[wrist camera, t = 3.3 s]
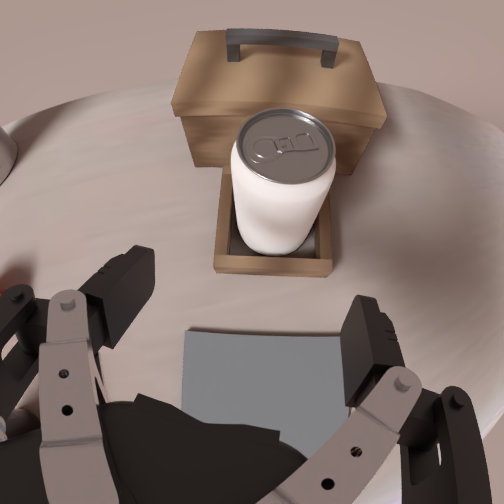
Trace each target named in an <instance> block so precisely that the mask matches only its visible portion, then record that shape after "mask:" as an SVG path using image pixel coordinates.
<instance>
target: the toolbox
mask: <svg viewBox="0 0 504 504" xmlns="http://www.w3.org/2000/svg"><path fill="white" fill-rule="evenodd" d="M171 105H172V108H173V111H174V115H175V117H178V116H180V118H181V121H182V125H183V128H184V131H185V135H186V138H187V142H188V145H189V148H190V152H191V155H192V158H193V162H194V165H195V167H223V172H222V181H221V190H220V199H219V209H218V219H217V229H216V240H215V251H214V263H213V267H214V269H215V271H216V273H226V274H247V275H269V276H295V277H325V278H326V277H327V276H328V275H330V274H331V273H332V272H333V265H332V238H331V218H330V203H329V191H328V193H327V195H326V197H325V200H324V202H323V204H322V206H321V208H320V210H319V212H318V214H317V217H316V219H315V221H314V231H315V259H304V258H281V257H258V256H235V255H229V251H230V237H231V224H232V212H233V199H234V192H233V183H232V173H231V152H232V148H233V145H234V143H235V141H236V138H237V134H238V131H239V129H240V127H241V126H242V124H243V123H244V122H245V121H246V120H247V119H248V118H249V117H251V116H252V115H254V114H255V113H257V112H260V111H262V110H265V109H270V108H278V107H285V108H293V109H298V110H301V111H304V112H306V113H309V114H311V115H312V116H314V117H316V118H317V119H319V120H320V121H321V122H322V123H323V124H324V125H325V126H326V127H327V128H328V130H329V131H330V133H331V134H332V136H333V139H334V142H335V147H336V153H335V160H336V171H335V174H345V175H352V173H353V171H354V169H355V167H356V165H357V163H358V161H359V159H360V157H361V156H362V154H363V152H364V150H365V148H366V146H367V144H368V142H369V140H370V138H371V136H372V134H373V132H374V130H375V128H378V129H381V127H382V126H383V124H384V122H385V120H386V118H387V115H386V111H385V108H384V105H383V102H382V99H381V96H380V93H379V90H378V87H377V85H376V82H375V79H374V76H373V74H372V71H371V69H370V66H369V64H368V61H367V59H366V56H365V54H364V52H363V49H362V47H361V44H360V42H358V41H352V40H347V39H342V38H337V36H331V35H325V34H317V33H309V32H300V31H289V30H274V29H273V30H272V29H227V30H216V31H198V32H197V33H196V35H195V38H194V40H193V42H192V46H191V48H190V50H189V53H188V55H187V58H186V61H185V64H184V66H183V69H182V72H181V75H180V77H179V80H178V83H177V86H176V89H175V92H174V95H173V98H172V101H171Z"/></svg>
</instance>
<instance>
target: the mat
mask: <svg viewBox="0 0 504 504" xmlns="http://www.w3.org/2000/svg"><path fill="white" fill-rule="evenodd" d="M181 411H183V412H185V413H187V414H188V415H190V416H192V417H194V418H196V419H198V420H199V421H202V422H204V423H214V424H247V425H251V426H257V427H262V428H267V429H273V430H279V431H280V438H279V440H280V441H282V442H285V443H286V444H288V445H290V446H292V447H294V448H295V449H297V450H298V451H300V452H301V453H302V454H303V455H304V456H306V457H307V459H309V458H310V457H311V456H312V455H313V454H314V453H315V452H316V451H317V450H318V449H319V448H320V447H321V446H322V445H323V444H324V443H325V442H326V441H327V440H328V439H329V438H330V437H331V436H332V435H333V434H334V433H335V432H336V431H337V430H338V429H339V428H340V426H341V425H342V424H343V423H344V422H345V421H346V420H347V419H348V414H349V407H345V398H344V382H343V368H342V356H341V345H340V337H290V336H257V335H237V334H221V333H207V332H195V331H185V341H184V358H183V379H182V408H181Z"/></svg>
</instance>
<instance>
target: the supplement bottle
mask: <svg viewBox="0 0 504 504" xmlns="http://www.w3.org/2000/svg"><path fill="white" fill-rule="evenodd" d="M5 425H6V432H5V434H6V436H7V440H8V439H11V438H14V437H17V436H20V435H23V434H26V433H29V432H31V431H34V430H37V429H40V428H41V422H40V421H39V420H38V419H37V418H36V417H35V416H34V415H33V414H32V413H30V412H29V411H27V410H24V409H14V410H13V411H12V413H11V414H10V416H9V418H8V419H7V421H6V423H5Z"/></svg>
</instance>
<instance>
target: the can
mask: <svg viewBox="0 0 504 504" xmlns="http://www.w3.org/2000/svg"><path fill="white" fill-rule="evenodd" d="M335 153H336V147H335V142H334V139H333V136H332V134H331V133H330V131H329V130H328V128H327V127H326V126H325V125H324V124H323V123H322V122H321V121H320V120H319V119H317V118H316V117H314V116H312V115H311V114H309V113H306V112H304V111H301V110H298V109H293V108H285V107H278V108H270V109H265V110H262V111H260V112H257V113H255V114H254V115H252V116H251V117H249V118H248V119H247V120H246V121H245V122H244V123H243V124H242V126H241V127H240V129H239V131H238V134H237V138H236V141H235V143H234V145H233V148H232V152H231V173H232V183H233V192H234V200H235V209H236V217H237V224H238V229H239V232H240V235H241V237H242V238H243V240H244V242H245V243H246V244H247V245H248V246H249V247H250V248H251V249H252V250H254V251H256V252H257V253H260V254H262V255H266V256H283V255H286V254H289V253H291V252H293V251H295V250H296V249H297V248H298V247H300V246H301V244H302V243H303V242H304V240H305V239H306V237H307V235H308V233H309V231H310V229H311V227H312V225H313V223H314V221H315V219H316V217H317V214H318V212H319V210H320V208H321V206H322V204H323V202H324V200H325V197H326V195H327V193H328V191H329V188H330V186H331V184H332V181H333V179H334V175H335V171H336V160H335Z"/></svg>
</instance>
